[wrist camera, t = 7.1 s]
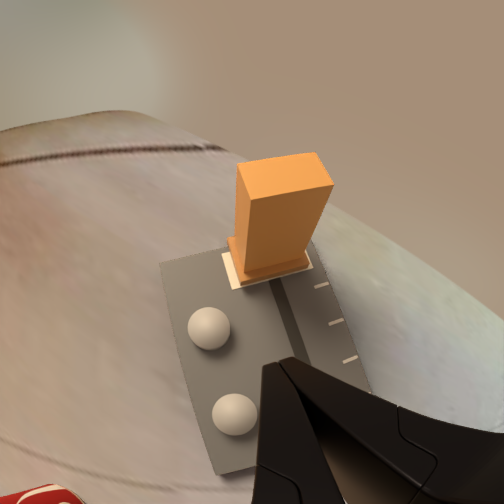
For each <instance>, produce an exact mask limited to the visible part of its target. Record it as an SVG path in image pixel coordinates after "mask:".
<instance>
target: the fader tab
mask: <svg viewBox="0 0 504 504" xmlns="http://www.w3.org/2000/svg"><path fill="white" fill-rule="evenodd" d="M333 186H334V183H333V182H332V180H331V178H330V177H329V175H328V173H327V171H326V169H325V168H324V166H323V165H322V163H321V161H320V160H319V158H318V156H317V154H316V153H315V152H313V153H305V154H296V155H289V156H283V157H276V158H269V159H263V160H257V161H251V162H245V163H239V164H237V178H236V208H235V236H233V237H228V238H227V244H228V248H229V251H230V254H231V258H232V261H233V264H234V267H235V271H236V274H237V277H238V280H239V283H240V286H242V285H246V284H250V283H254V282H258V281H261V280H265V279H269V278H273V277H277V276H280V275H284V274H288V273H291V272H295V271H299V270H302V269H306V268H308V266H309V264H310V263H309V260H308V258H307V256H306V253H305V250H306V248H307V245H308V243H309V241H310V239H311V237H312V234H313V232H314V230H315V228H316V225H317V223H318V221H319V219H320V216H321V214H322V212H323V209H324V207H325V205H326V203H327V200H328V198H329V196H330V193H331V191H332V189H333Z"/></svg>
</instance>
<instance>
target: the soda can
mask: <svg viewBox="0 0 504 504" xmlns="http://www.w3.org/2000/svg"><path fill="white" fill-rule="evenodd" d="M0 504H85V503H84V502H83V501H82V500H81V498H80V497H79V496H77V495H76V494H75V493H74V492H72V491H71V490H69V489H67V488H65V487H63V486H60V485H56V484H47V485H43V486H40V487H37V488H34V489H30V490H27V491H23V492H19V493H15V494H11V495H7V496H3V497H0Z"/></svg>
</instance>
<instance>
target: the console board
mask: <svg viewBox="0 0 504 504" xmlns="http://www.w3.org/2000/svg"><path fill="white" fill-rule="evenodd" d="M305 253H306V256H307V258H308V260H309V263H310V264H309V266H308V268H306V269H302V270H299V271H295V272H291V273H288V274H284V275H280V276H277V277H273V278H269V279H265V280H261V281H258V282H254V283H250V284H246V285H242V286H240V283H239V280H238V277H237V274H236V271H235V267H234V264H233V261H232V258H231V254H230V251H229V248H228V247H224V248H220V249H216V250H212V251H207V252H203V253H199V254H195V255H191V256H187V257H183V258H178V259H174V260H170V261H166V262H162V263H159V264H160V270H161V275H162V281H163V286H164V291H165V296H166V301H167V306H168V310H169V315H170V320H171V324H172V329H173V333H174V337H175V341H176V346H177V350H178V354H179V358H180V362H181V365H182V369H183V373H184V377H185V380H186V384H187V388H188V391H189V395H190V398H191V402H192V405H193V408H194V412H195V415H196V418H197V422H198V425H199V428H200V431H201V434H202V437H203V440H204V443H205V446H206V449H207V452H208V455H209V458H210V461H211V463H212V466H213V469H214V472H215V474H216V475H221V474H225V473H230V472H234V471H238V470H242V469H246V468H249V467H253V466H256V455H257V440H258V425H259V409H260V392H261V374H262V366H263V365H265V364H268V363H272V362H278V361H279V360H281V359H284V358H287V357H291V356H292V357H295V358H297V359H299V360H301V361H303V362H305V363H307V364H309V365H311V366H313V367H315V368H317V369H319V370H321V371H323V372H325V373H327V374H329V375H332V376H334V377H336V378H338V379H340V380H342V381H344V382H346V383H348V384H351V385H353V386H355V387H357V388H359V389H361V390H364V391H366V392H368V393H370V394H372V392H371V389H370V387H369V384H368V381H367V378H366V375H365V373H364V370H363V367H362V364H361V362H360V359H359V356H358V353H357V351H356V348H355V345H354V343H353V340H352V338H351V335H350V332H349V330H348V327H347V325H346V322H345V320H344V317H343V315H342V312H341V309H340V307H339V305H338V302H337V300H336V297H335V295H334V292H333V290H332V287H331V285H330V283H329V280H328V278H327V275H326V273H325V271H324V268H323V266H322V264H321V261H320V259H319V257H318V254H317V252H316V250H315V248H314V245H313V243H312V241H311V239H310V241H309V243H308V245H307V248H306V250H305Z"/></svg>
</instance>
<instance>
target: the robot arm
mask: <svg viewBox="0 0 504 504" xmlns="http://www.w3.org/2000/svg"><path fill="white" fill-rule="evenodd" d="M342 496H343V497H342ZM343 498H344V499H345V501H346V502H347V504H504V433H495V432H488V431H483V430H478V429H473V428H469V427H464V426H460V425H455V424H451V423H447V422H444V421H440V420H437V419H433V418H430V417H427V416H424V415H421V414H419V413H416V412H413V411H411V410H408V409H406V408H403V407H401V406H398V407H397V405H396V404H393V403H391V402H389V401H386V400H384V399H382V398H379V397H377V396H375V395H373V394H370V393H368V392H366V391H364V390H361V389H359V388H357V387H355V386H353V385H351V384H348V383H346V382H344V381H342V380H340V379H338V378H336V377H334V376H332V375H329V374H327V373H325V372H323V371H321V370H319V369H317V368H315V367H313V366H311V365H309V364H307V363H305V362H303V361H301V360H299V359H297V358H295V357H292V356H291V357H287V358H284V359H281V360H279V361H278V362H272V363H268V364H265V365H263V366H262V374H261V392H260V409H259V425H258V440H257V455H256V467H255V480H254V489H253V497H252V502H251V504H345V502H344V499H343Z"/></svg>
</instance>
